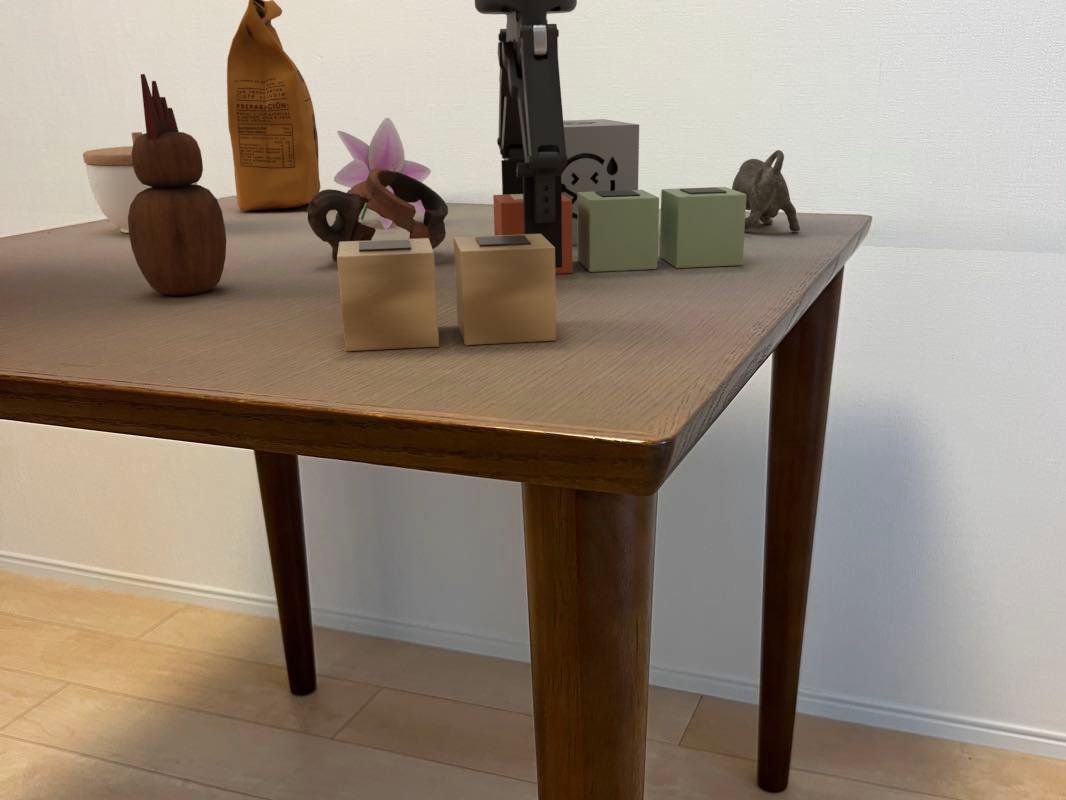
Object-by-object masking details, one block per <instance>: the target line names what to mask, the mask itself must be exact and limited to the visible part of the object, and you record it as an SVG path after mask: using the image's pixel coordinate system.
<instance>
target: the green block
mask: <svg viewBox="0 0 1066 800" xmlns="http://www.w3.org/2000/svg"><path fill="white" fill-rule="evenodd" d="M659 218H660V197H658V196H657V195H655V194H653V193H650V192H648V191H646V190H643V189H638V190H623V191H594V192H578V193H577V245H576V246H577V247H576V248H577V249H576V251H577V252H576V253H577V254H576V255H577V258H576V259H577V262H579V263H580V264H581V265H582V266H583V267H584V268H585V269H586V270H587V271H588V272H589V273H600V272H601V273H602V272H603V273H604V272H623V271H646V270H648V271H649V270H657V269H658V262H659V261H658V260H659V259H658V257H659V224H660V223H659V220H660V219H659Z"/></svg>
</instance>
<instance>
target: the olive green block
mask: <svg viewBox="0 0 1066 800" xmlns="http://www.w3.org/2000/svg"><path fill="white" fill-rule="evenodd" d="M746 211H747V210H746V194H744V193H741V192H738V191H735V190H732V188H729V187H726V186H711V187H710V186H709V187H687V188H686V187H684V188H683V187H682V188H662V189H661V191H660V223H659V224H660V225H659V226H660V228H659V229H660V230H659V235H660V236H659V257H660V258H661V259H663V260H664V261H665V262H667V263H668V264H670V265H671V266H672V267H674V268H676V269H691V268H713V267H714V268H715V267H716V268H717V267H736V266H738V267H739V266H743V264H744V263H743V261H744V246H745V231H746V230H745V218H746V214H747V213H746Z"/></svg>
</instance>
